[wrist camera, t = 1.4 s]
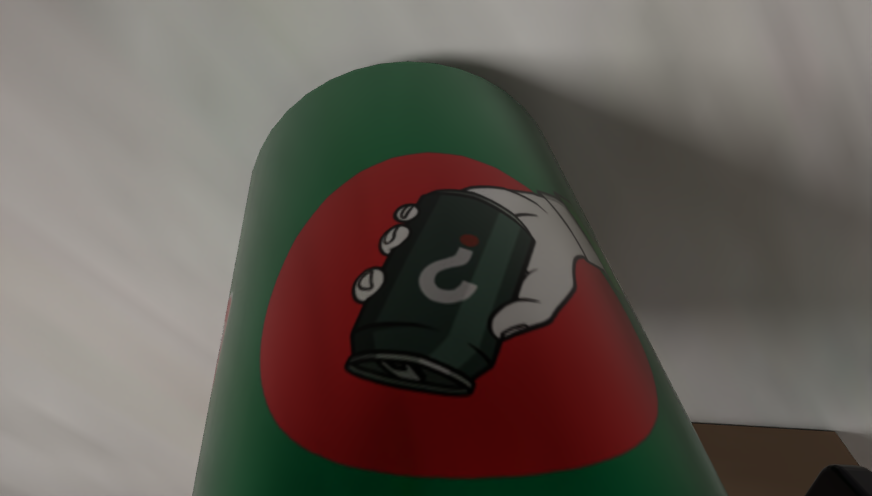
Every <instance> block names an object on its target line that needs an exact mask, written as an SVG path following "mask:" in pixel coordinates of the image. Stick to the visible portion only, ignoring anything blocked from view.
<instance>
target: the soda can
mask: <svg viewBox="0 0 872 496" xmlns="http://www.w3.org/2000/svg"><path fill="white" fill-rule="evenodd" d="M192 496H729V495H728V493H727V491H726V489H725V487H724V485H723V483H722V482H721V480H720V478H719V476H718V474H717V472H716V470H715V468H714V466H713V464H712V462H711V460H710V458H709V456H708V454H707V452H706V450H705V448H704V447H703V445H702V443H701V441H700V439H699V437H698V435H697V433H696V431H695V429H694V427H693V425H692V423H691V421H690V419H689V417H688V415H687V413H686V412H685V410H684V408H683V406H682V404H681V402H680V400H679V398H678V396H677V394H676V392H675V390H674V388H673V386H672V384H671V382H670V380H669V378H668V377H667V375H666V373H665V371H664V369H663V367H662V365H661V363H660V361H659V359H658V357H657V355H656V353H655V351H654V349H653V347H652V345H651V343H650V342H649V340H648V338H647V336H646V334H645V332H644V330H643V328H642V326H641V324H640V322H639V320H638V318H637V316H636V314H635V312H634V310H633V308H632V307H631V305H630V303H629V301H628V299H627V297H626V295H625V293H624V291H623V289H622V287H621V285H620V283H619V281H618V279H617V277H616V275H615V273H614V272H613V270H612V268H611V266H610V264H609V262H608V260H607V258H606V256H605V254H604V252H603V250H602V248H601V246H600V244H599V242H598V240H597V238H596V237H595V235H594V233H593V231H592V229H591V227H590V225H589V223H588V221H587V219H586V217H585V215H584V213H583V211H582V209H581V207H580V205H579V203H578V202H577V200H576V198H575V196H574V194H573V192H572V190H571V188H570V186H569V184H568V182H567V180H566V178H565V176H564V174H563V172H562V170H561V168H560V167H559V165H558V163H557V161H556V159H555V157H554V155H553V153H552V151H551V149H550V147H549V145H548V143H547V141H546V140H545V138H544V136H543V134H542V132H541V130H540V129H539V127H538V125H537V124H536V122H535V121H534V120H533V119H532V117H531V116H530V115H529V114H528V113H527V111H526V110H525V109H524V108H523V107H522V106H521V105H520V104H519V103H518V102H517V101H516V100H514V99H513V98H512V97H511V96H510V95H509V94H507V93H506V92H505V91H504V90H502V89H500V88H499V87H497V86H495V85H494V84H492V83H490V82H489V81H487V80H485V79H484V78H481V77H479V76H476V75H474V74H471V73H469V72H466V71H464V70H461V69H458V68H454V67H449V66H445V65H440V64H436V63H424V62H409V61H406V62H395V63H383V64H377V65H373V66H369V67H365V68H361V69H357V70H353V71H351V72H348V73H346V74H344V75H341V76H339V77H336V78H334V79H331V80H329V81H328V82H326V83H324V84H323V85H321V86H319V87H318V88H316V89H314V90H313V91H311V92H309V93H308V94H306V95H305V96H304V97H303V98H302V99H301V100H299V101H298V102H297V103H296V104H295V105H294V106H292V107H291V108H290V109H289V110H288V111H287V112H286V113H285V114H284V116H283V117H282V118H281V119H280V120H279V122H278V123H277V124H276V125H275V126H274V128H273V129H272V130H271V132H270V134H269V135H268V137H267V139H266V141H265V142H264V144H263V146H262V148H261V149H260V152H259V155H258V157H257V160H256V163H255V166H254V169H253V171H252V176H251V182H250V187H249V193H248V198H247V203H246V209H245V214H244V220H243V225H242V230H241V236H240V241H239V246H238V252H237V257H236V263H235V268H234V273H233V279H232V284H231V289H230V295H229V300H228V306H227V311H226V316H225V322H224V327H223V333H222V338H221V343H220V349H219V354H218V359H217V365H216V370H215V376H214V381H213V386H212V392H211V397H210V402H209V408H208V413H207V419H206V424H205V429H204V435H203V440H202V446H201V451H200V456H199V462H198V467H197V472H196V478H195V483H194V489H193V494H192Z"/></svg>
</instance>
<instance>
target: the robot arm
mask: <svg viewBox="0 0 872 496" xmlns="http://www.w3.org/2000/svg"><path fill="white" fill-rule="evenodd" d="M805 496H872V472H871V471H870V470H868V469H866V468H864V467H861V466H857V465H839V464H832V465H828V466H826V467H825V468H823V469H822V470H821V472H820V473H819V475H818V476H817V478H816V479H815V481H814V482H813V484H812V485H811V487H810V488H809V490H808V491H807V493H806V494H805Z"/></svg>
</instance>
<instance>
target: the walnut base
mask: <svg viewBox="0 0 872 496" xmlns="http://www.w3.org/2000/svg"><path fill="white" fill-rule="evenodd" d="M692 425H693V427H694V429H695V431H696V433H697V435H698V437H699V439H700V441H701V443H702V445H703V447H704V448H705V450H706V452H707V454H708V456H709V458H710V460H711V462H712V464H713V466H714V468H715V470H716V472H717V474H718V476H719V478H720V480H721V482H722V483H723V485H724V487H725V489H726V491H727V493H728V495H729V496H805V494H806V493H807V491H808V490H809V488H810V487H811V485H812V484H813V482H814V481H815V479H816V478H817V476H818V475H819V473H820V472H821V470H822V469H823V468H825V467H826V466H828V465H832V464H839V465H857V466H859V465H858V463H857V462H856V460H855V459H854V458H853V456H852V455H851V453H850V452H849V451H848V449H847V448H846V446H845V445H844V444H843V442H842V441H841V439H840V438H839V437H838V435H837V434H836V432H830V431H813V430H796V429H779V428H763V427H746V426H729V425H712V424H696V423H692Z"/></svg>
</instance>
